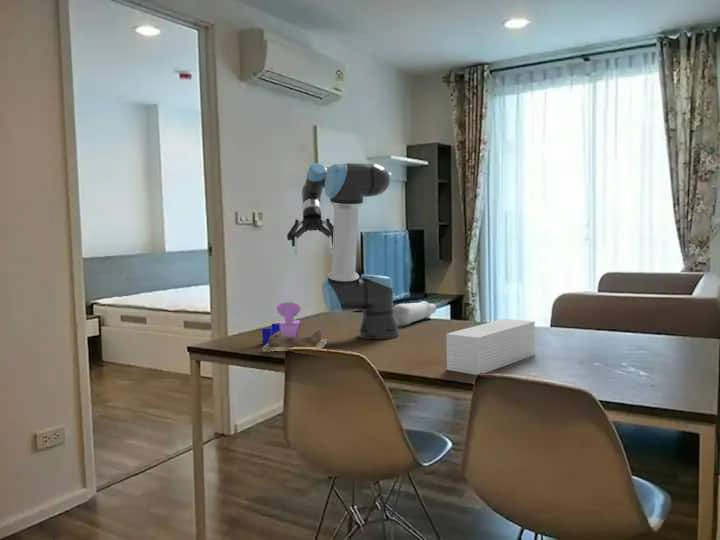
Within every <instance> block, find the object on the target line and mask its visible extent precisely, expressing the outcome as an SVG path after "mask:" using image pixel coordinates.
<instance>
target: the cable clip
mask: <svg viewBox="0 0 720 540" xmlns="http://www.w3.org/2000/svg"><path fill="white" fill-rule="evenodd" d="M280 323H281V322H279V323H273V322H272V323H271V327H270V328H269V327H267V328H265V327H264V328H261V330H262V332H261V333H262V345H263V346H265V345H266V344H268V338H270V337H271V336H272V335H273V334H275V333H276V332H281V330H280ZM281 333H282V332H281Z"/></svg>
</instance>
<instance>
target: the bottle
mask: <svg viewBox="0 0 720 540" xmlns="http://www.w3.org/2000/svg"><path fill="white" fill-rule="evenodd" d="M436 312H437V306H436V304H435V303H429V302H428V301H426V300H422V301H419V302H413V303H411V302H410V303H399V304H396V305H393V315H394V318H395V321H396V324H397V327H404V326H408V325H410V324H412V323H415V322H418V321H420V320H428V319H429V318H430V317H431V316H432V314H435V313H436Z"/></svg>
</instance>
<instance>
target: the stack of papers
mask: <svg viewBox="0 0 720 540" xmlns="http://www.w3.org/2000/svg"><path fill="white" fill-rule="evenodd" d="M535 323H536V321H533V320H532V321H531V320H524V319H523V320H522V319H513V318H501V319H498V320H495V321H490V322H487V323H483V324H478V325H475V326H470V327H466V328H463V329H460V330H455V331H451V332H448V333H446V335H445V337H446V338H445V340H446V342H445V343H446V344H445V345H446V370H448V371H453V372H459V373H465V374H468V375H469V374H470V375H475V376H478V375H477V374H480V373H483V374H485V373H488V372H492V371H494V370H496V369H499V368H503V367H505V366H509V365H510V364H513V363H516V362H519V361H521V360H525V359H527V358H530V357H533V356H536V335H535V334H536V331H535V330H536V326H535ZM480 375H481V374H480Z"/></svg>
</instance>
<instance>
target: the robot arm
mask: <svg viewBox="0 0 720 540" xmlns="http://www.w3.org/2000/svg"><path fill="white" fill-rule="evenodd" d="M389 173H390V172H389V171H388V170H387V169H386V168H385V167H384V166H382V165H380V164H376V163H356V162H355V163H354V162H353V163H351V162H349V163H346V162H341V163H334V164H332V165H330V167H328V168H327V166H326V165H324V164H321V163H318V162H317V163H315V162H314V163H312V164H311V165H309V167H308V170H307V174H306V178H305V183H304V184H303V185H302V190H301V196H302V199H301V200H302V220H299V219H295V221H294V224H293V225H292V227H291V228H290V230H289V231H288V233H287V234H286V237H287V238H286V239H287V241H291V247H294V254H295V255H297V254H298V239H299V238H300V237H301V236H302V235H303V234H304V233H306V232H308V231H309V232H311V231H319V232H320V233H322V234H323V235H325V236H326V237H327V238H329V252H330V253H331V254H332V259H331V261H332V262H331V264H332V265H331V266H332V268H331V271H330V272H329V273H328V274H327V279H326V280H325V279H324V281H322V285H321V293H322V300H323V302H324V305H325V307H326V308H327V311H330V312H331V313H342V312H352V311H354V312H355V311H362V317H361V321H360V324H359V328H358V337H359V338H361V339H364V340H365V339H366V340H389V339H392V338H393V339H394V338H397V337H398V336H399V331H400V330H399V326H397V324H396V321H395V318H394V315H393V307H394V286H393V280H392V278H391V277H389V276H385V275H377V274H364V273H362V274H361V276H360V275H359V273H358V272H357V271H356V270H357V269H356V266H357V244H358V221H359V220H358V219H359V207H360V206H361V205H362V204H363V203H364V197H366V198H367V197H375V196H378V195H379V196H380V195H381V194H383V193H385V192H386V191H387V189H388V188H389V186H390V183H391V176H390V174H389ZM323 189H324V192H325V195H326V197H327V198H329V202H330V203H331V205H332V206H333V224H332V223H331V221H330V218H326V219H322V205H321V197H322V193H323ZM324 225H325V226H324ZM300 226H301V227H300ZM299 227H300V228H299Z"/></svg>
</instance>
